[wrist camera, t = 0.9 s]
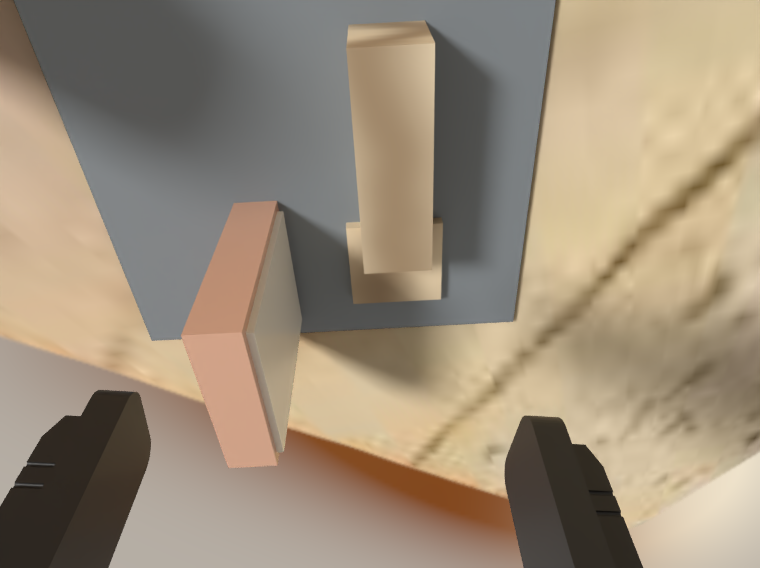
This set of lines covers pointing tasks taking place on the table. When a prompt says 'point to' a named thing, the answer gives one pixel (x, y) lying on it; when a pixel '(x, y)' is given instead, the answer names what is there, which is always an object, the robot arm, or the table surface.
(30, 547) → the robot arm
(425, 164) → the beige pillar on base
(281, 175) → the mat
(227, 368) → the tile
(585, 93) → the table surface
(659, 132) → the table surface
